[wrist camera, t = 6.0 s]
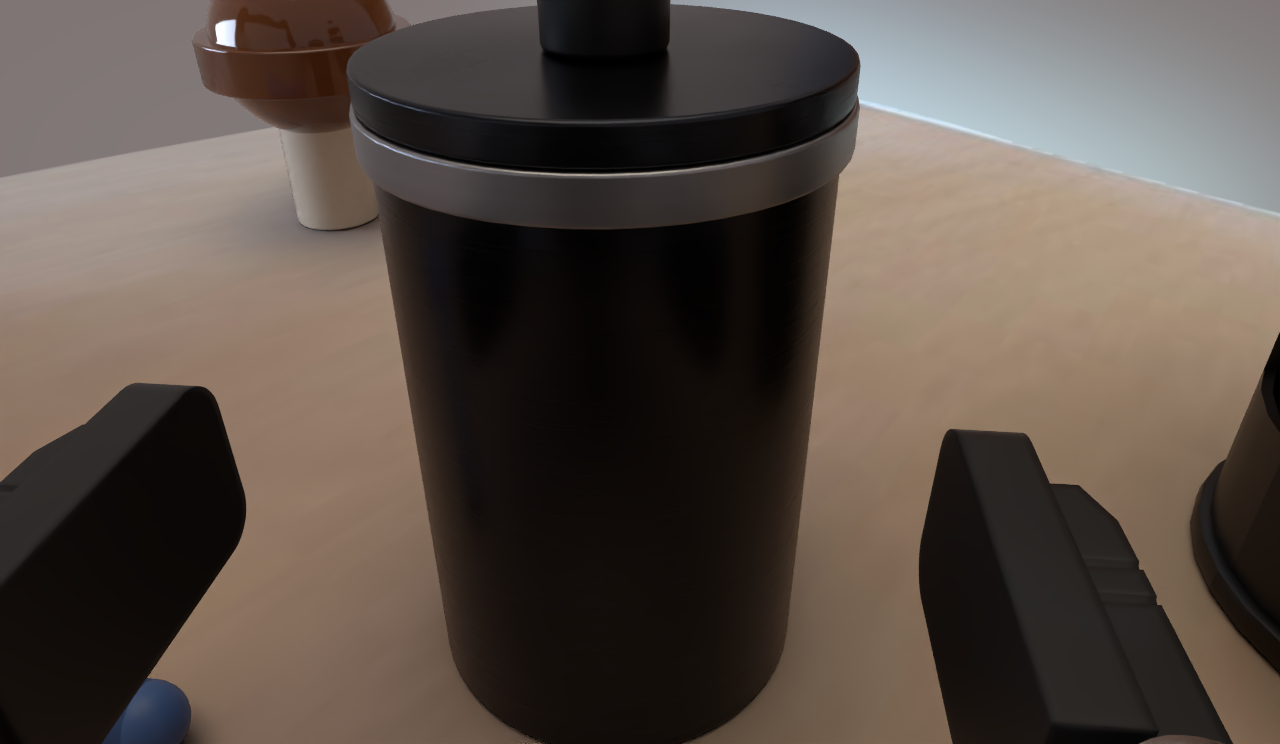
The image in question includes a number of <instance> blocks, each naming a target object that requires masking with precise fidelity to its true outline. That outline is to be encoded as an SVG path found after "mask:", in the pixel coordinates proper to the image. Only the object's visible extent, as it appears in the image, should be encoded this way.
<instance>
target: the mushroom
mask: <svg viewBox="0 0 1280 744" xmlns="http://www.w3.org/2000/svg"><path fill="white" fill-rule="evenodd" d="M409 26H411V24H410V23H409V21H408V20H406V19H405V18H402V17H400V16H397V15H394V13H393V11H392V9H391V7H390V5H389V2H388V0H210V3H209V7H208V11H207V21H206V28H204V29H202V30H200V31H198V32H197V33H195V34H194V36H193V39H192V43H193V46H194V50H195V54H196V58H197V62H198V66H199V70H200V74H201V78H202V82H203V84H204V86H205V87H206V88H207V89H209V90H210V91H212V92H214V93H217V94H220V95H223V96H228V97H233V98H235V99H236V100H237V101H238V102H239V103H240V104H241V105H242V106H243V107H244V108H245V109H246V110H248V111H249V112H250V113H251V114H253V115H254V116H255V117H257V118H258V119H260V120H262V121H264V122H265V123H267V124H269V125H271V126H274V127H276V128H278V130H279V135H280V139H281V144H282V149H283V153H284V158H285V163H286V167H287V172H288V177H289V181H290V186H291V190H292V195H293V200H294V204H295V209H296V214H297V218H298V221H299V222H300V223H301V224H302V225H303V226H305V227H308V228H312V229H318V230H339V229H346V228H351V227H356V226H359V225H362V224H365V223H367V222H369V221H371V220H373V219H374V218H376V217H377V216H378V214H379V213H378V207H377V201H376V195H375V189H374V183H373V181H371V180H370V179H369V178H368V176H367V175H366V174H365V173H364V171H363V170H362V169H361V167H360V166H359V163H358V160H357V157H356V153H355V147H354V141H353V135H352V130H351V124H350V118H349V111H350V105H351V98H350V92H349V86H348V80H347V74H346V70H347V64H348V60H349V59H350V57H351V56H352V55H353V53H354V52H355V51H357V50H358V49H359V48H360V47H362V46H363V45H365V44H367V43H369V42H370V41H372V40H374V39H376V38H378V37H381V36H383V35H386V34H388V33H391V32H393V31H396V30H399V29H402V28H406V27H409Z"/></svg>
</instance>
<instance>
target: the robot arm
mask: <svg viewBox="0 0 1280 744" xmlns="http://www.w3.org/2000/svg"><path fill="white" fill-rule="evenodd" d="M245 519H246V499H245V493H244V490H243V486H242V483H241V479H240V476H239V473H238V469H237V466H236V463H235V459H234V456H233V453H232V449H231V446H230V443H229V439H228V436H227V433H226V429H225V426H224V423H223V419H222V416H221V413H220V409H219V406H218V403H217V401H216V399H215V397H214V395H213V394H212V393H211V392H210V391H209V390H208V389H206V388H204V387H201V386H184V385H165V384H147V383H134V384H131V385H128V386H126V387H125V388H124V389H123V390H121V391H120V392H119V393H118V394H117V395H116V396H115V397H114V398H113V399H112V400H111V401H109V402H108V403H107V404H106V405H105V406H104V407H103V408H102V409H101V410H100V411H99V412H98V413H97V414H96V415H95V416H93V417H92V418H91V419H90V420H89V421H88V422H87V423H86V424H85V425H81V426H79V427H78V428H76V429H74V430H72V431H70V432H69V433H67V434H65V435H63V436H61V437H60V438H58V439H56V440H54V441H52V442H51V443H49V444H47V445H45V446H43V447H42V448H40V449H38V450H36V451H35V452H33V453H32V454H31V455H30V456H29V457H28V458H27V459H26V460H24V461H23V462H22V463H21V464H20V465H19V466H18V467H17V468H16V469H15V470H13V471H12V472H11V473H10V474H9V475H8V476H7V477H6V478H5V479H4V480H2V481H1V482H0V744H102V742H103V741H104V739H105V738H106V737H107V735H108V734H109V732H110V731H111V729H112V728H113V726H114V725H115V723H116V722H117V721H118V719H119V718H120V716H121V715H122V713H123V712H124V710H125V709H126V707H127V706H128V705H129V703H130V702H131V700H132V699H133V697H134V696H135V694H136V693H137V692H138V690H139V689H140V687H141V686H142V684H143V683H144V681H145V680H146V678H147V677H148V676H149V674H150V673H151V671H152V670H153V668H154V667H155V665H156V664H157V662H158V661H159V660H160V658H161V657H162V655H163V654H164V652H165V651H166V649H167V648H168V646H169V645H170V644H171V642H172V641H173V639H174V638H175V636H176V635H177V633H178V632H179V630H180V629H181V628H182V626H183V625H184V623H185V622H186V620H187V619H188V617H189V616H190V614H191V613H192V612H193V610H194V609H195V607H196V606H197V604H198V603H199V601H200V600H201V598H202V597H203V596H204V594H205V593H206V591H207V590H208V588H209V587H210V585H211V584H212V583H213V581H214V580H215V578H216V577H217V575H218V574H219V572H220V571H221V569H222V568H223V567H224V565H225V564H226V562H227V561H228V559H229V558H230V556H231V555H232V553H233V552H234V550H235V549H236V547H237V545H238V543H239V541H240V539H241V536H242V533H243V529H244V525H245ZM919 585H920V595H921V600H922V605H923V610H924V615H925V619H926V624H927V628H928V633H929V637H930V642H931V647H932V651H933V656H934V660H935V665H936V670H937V674H938V679H939V683H940V688H941V693H942V697H943V702H944V706H945V711H946V715H947V720H948V725H949V729H950V734H951V738H952V743H953V744H1233V743H1232V741H1231V739H1230V737H1229V735H1228V733H1227V731H1226V729H1225V727H1224V725H1223V723H1222V722H1221V720H1220V718H1219V716H1218V714H1217V712H1216V710H1215V708H1214V706H1213V704H1212V702H1211V700H1210V698H1209V696H1208V694H1207V692H1206V691H1205V689H1204V687H1203V685H1202V683H1201V681H1200V679H1199V677H1198V675H1197V673H1196V671H1195V669H1194V667H1193V665H1192V663H1191V661H1190V660H1189V658H1188V656H1187V654H1186V652H1185V650H1184V648H1183V646H1182V644H1181V642H1180V640H1179V638H1178V636H1177V634H1176V632H1175V630H1174V629H1173V627H1172V625H1171V623H1170V621H1169V619H1168V617H1167V615H1166V613H1165V611H1164V609H1163V607H1162V605H1157V602H1156V598H1157V596H1156V594H1155V592H1154V590H1153V588H1152V586H1151V584H1150V582H1149V580H1148V578H1147V576H1146V574H1145V572H1144V570H1139V561H1138V559H1137V557H1136V555H1135V553H1134V551H1133V549H1132V547H1131V545H1130V543H1129V541H1128V539H1127V537H1126V536H1125V534H1124V532H1123V530H1122V528H1121V526H1120V524H1119V522H1118V521H1117V520H1116V519H1115V518H1114V517H1113V516H1112V515H1111V514H1110V513H1109V512H1108V511H1106V510H1105V509H1104V508H1103V507H1102V506H1101V505H1100V504H1099V503H1098V502H1097V501H1095V500H1094V499H1093V498H1092V497H1091V496H1090V495H1089V494H1088V493H1087V492H1086V491H1084V490H1083V489H1082V488H1081V487H1080V486H1079V485H1067V484H1050V483H1049V481H1048V478H1047V476H1046V474H1045V472H1044V469H1043V467H1042V465H1041V463H1040V460H1039V458H1038V456H1037V454H1036V451H1035V449H1034V447H1033V445H1032V442H1031V441H1030V439H1029V437H1028V436H1027V435H1026V434H1024V433H1014V432H996V431H977V430H959V429H950V430H948V431H947V432H946V434H945V436H944V438H943V441H942V445H941V449H940V453H939V458H938V463H937V467H936V472H935V477H934V482H933V486H932V491H931V496H930V500H929V505H928V510H927V514H926V519H925V524H924V529H923V533H922V538H921V544H920V553H919Z"/></svg>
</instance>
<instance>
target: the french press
mask: <svg viewBox="0 0 1280 744" xmlns="http://www.w3.org/2000/svg"><path fill="white" fill-rule="evenodd" d="M1190 523H1191V532H1192V539H1193V547H1194V554H1195V557H1196V560H1197V562H1198V564H1199V567H1200V569H1201V571H1202V573H1203V576H1204V578H1205V580H1206V582H1207V585H1208V587H1209V589H1210V591H1211V592H1212V594H1213V595H1214V596H1215V598H1216V599H1217V601H1218V602H1219V603H1220V605H1221V606H1222V608H1223V609H1224V610H1225V612H1226V613H1227V615H1228V616H1229V617H1230V619H1231V620H1232V621H1233V623H1234V624H1235V626H1236V627H1237V628H1238V630H1239V631H1240V632H1241V633H1242V634H1243V635H1244V636H1245V637H1246V638H1247V639H1248V640H1249V641H1250V642H1251V643H1252V644H1253V645H1254V646H1255V647H1256V648H1257V649H1258V650H1259V651H1260V652H1261V653H1262V654H1263V655H1264V656H1265V657H1266V658H1267V659H1268V660H1269V661H1270V662H1271V663H1272V664H1273V665H1274V666H1275V667H1276V668H1277V669H1278V671H1280V333H1279V335H1278V337H1277V340H1276V342H1275V345H1274V347H1273V349H1272V352H1271V354H1270V356H1269V359H1268V361H1267V364H1266V366H1265V368H1264V371H1263V373H1262V375H1261V378H1260V380H1259V383H1258V385H1257V387H1256V390H1255V392H1254V394H1253V397H1252V399H1251V402H1250V404H1249V406H1248V409H1247V411H1246V414H1245V416H1244V418H1243V421H1242V423H1241V425H1240V428H1239V430H1238V433H1237V435H1236V437H1235V440H1234V442H1233V444H1232V447H1231V449H1230V452H1229V454H1228V456H1227V459H1225V460H1224V461H1222V462H1221V463H1219V464H1218V465H1217V466H1216V467H1215V468H1214V470H1213V471H1212V472H1211V474H1210V475H1209V476H1208V477H1207V479H1206V480H1205V481H1204V483H1203V484H1202V485H1201V487H1200V489H1199V492H1198V494H1197V497H1196V501H1195V505H1194V509H1193V513H1192V517H1191V521H1190Z"/></svg>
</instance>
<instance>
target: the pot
mask: <svg viewBox="0 0 1280 744" xmlns="http://www.w3.org/2000/svg"><path fill="white" fill-rule="evenodd" d="M537 4H538V6H529V7H518V8H508V9H499V10H491V11H483V12H476V13H470V14H464V15H457V16H452V17H447V18H443V19H437V20H432V21H428V22H424V23H420V24H416V25H412V26H409V27H406V28H402V29H399V30H396V31H393V32H391V33H388V34H386V35H383V36H381V37H378V38H376V39H374V40H372V41H370V42H369V43H367V44H365V45H363V46H362V47H360V48H359V49H358V50H357V51H355V52H354V53H353V55H352V56H351V57H350V59H349V60H348V64H347V70H346V74H347V80H348V86H349V92H350V98H351V105H350V111H349V118H350V124H351V130H352V135H353V141H354V147H355V153H356V157H357V160H358V163H359V166H360V167H361V169H362V170H363V171H364V173H365V174H366V175H367V176H368V178H369V179H370V180H371V181H373V183H374V189H375V195H376V201H377V207H378V213H379V219H380V225H381V232H382V238H383V244H384V250H385V256H386V262H387V268H388V274H389V280H390V286H391V292H392V298H393V304H394V310H395V316H396V322H397V328H398V334H399V340H400V346H401V353H402V359H403V365H404V371H405V377H406V383H407V389H408V395H409V401H410V407H411V413H412V419H413V425H414V431H415V437H416V443H417V449H418V455H419V461H420V467H421V474H422V480H423V486H424V492H425V498H426V504H427V510H428V516H429V522H430V528H431V534H432V540H433V546H434V552H435V558H436V564H437V570H438V576H439V582H440V588H441V595H442V601H443V607H444V613H445V619H446V625H447V631H448V637H449V643H450V647H451V651H452V655H453V659H454V661H455V664H456V666H457V668H458V670H459V672H460V675H461V677H462V678H463V680H464V681H465V683H466V684H467V685H468V687H469V688H470V690H471V691H472V693H473V694H474V695H475V696H476V697H477V698H478V699H479V700H480V701H481V702H482V703H483V704H484V705H485V706H486V708H488V709H489V710H490V711H491V712H493V713H494V714H495V715H496V716H498V717H499V718H500V719H502V720H503V721H504V722H506V723H507V724H509V725H511V726H513V727H514V728H516V729H518V730H520V731H521V732H523V733H525V734H528V735H530V736H532V737H535V738H537V739H540V740H542V741H545V742H548V743H551V744H677V743H680V742H683V741H685V740H688V739H691V738H694V737H696V736H699V735H701V734H703V733H705V732H707V731H709V730H711V729H713V728H715V727H717V726H718V725H720V724H721V723H723V722H725V721H726V720H728V719H729V718H731V717H732V716H734V715H735V714H736V713H737V712H739V711H740V710H741V709H742V708H743V707H744V706H746V705H747V704H748V703H749V702H750V701H751V700H752V699H753V698H754V697H755V696H756V694H757V693H758V692H759V691H760V690H761V689H762V687H763V686H764V685H765V684H766V682H767V681H768V679H769V678H770V676H771V674H772V673H773V671H774V669H775V668H776V666H777V663H778V661H779V658H780V656H781V653H782V651H783V647H784V642H785V637H786V632H787V624H788V615H789V606H790V597H791V589H792V580H793V571H794V563H795V554H796V545H797V537H798V528H799V519H800V511H801V502H802V493H803V485H804V476H805V467H806V459H807V450H808V441H809V433H810V424H811V415H812V407H813V398H814V389H815V381H816V372H817V363H818V355H819V346H820V337H821V329H822V320H823V311H824V303H825V294H826V285H827V276H828V268H829V259H830V250H831V242H832V233H833V224H834V216H835V207H836V198H837V190H838V181H839V174H840V173H841V172H842V171H843V170H844V168H845V167H846V166H847V165H848V163H849V162H850V160H851V158H852V155H853V152H854V149H855V142H856V134H857V126H858V118H859V110H860V107H859V99H858V96H857V91H858V83H859V74H860V60H859V56H858V53H857V52H856V51H855V49H854V48H853V47H852V46H851V45H850V44H848V43H847V42H846V41H845V40H843V39H841V38H839V37H837V36H835V35H833V34H831V33H829V32H827V31H824V30H821V29H819V28H816V27H814V26H810V25H807V24H804V23H800V22H796V21H793V20H788V19H784V18H780V17H775V16H769V15H764V14H759V13H753V12H746V11H739V10H731V9H722V8H713V7H702V6H688V5H673V4H670V0H537Z"/></svg>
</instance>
